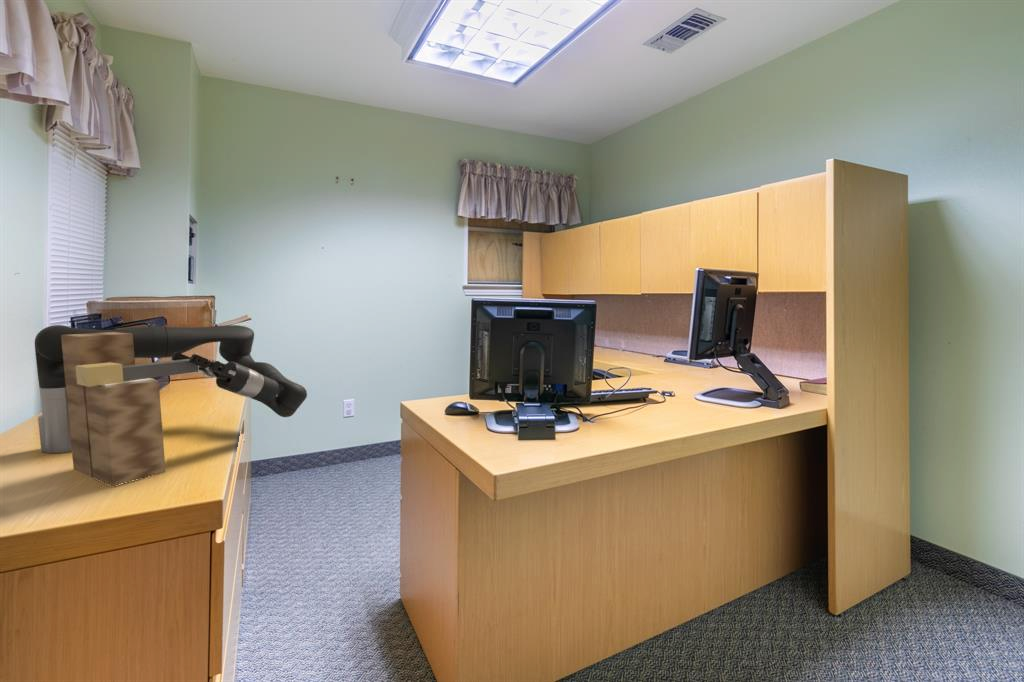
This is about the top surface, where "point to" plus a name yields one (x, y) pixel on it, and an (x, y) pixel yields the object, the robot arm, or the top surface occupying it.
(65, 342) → the brown stepped block
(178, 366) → the bar
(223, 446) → the top surface
